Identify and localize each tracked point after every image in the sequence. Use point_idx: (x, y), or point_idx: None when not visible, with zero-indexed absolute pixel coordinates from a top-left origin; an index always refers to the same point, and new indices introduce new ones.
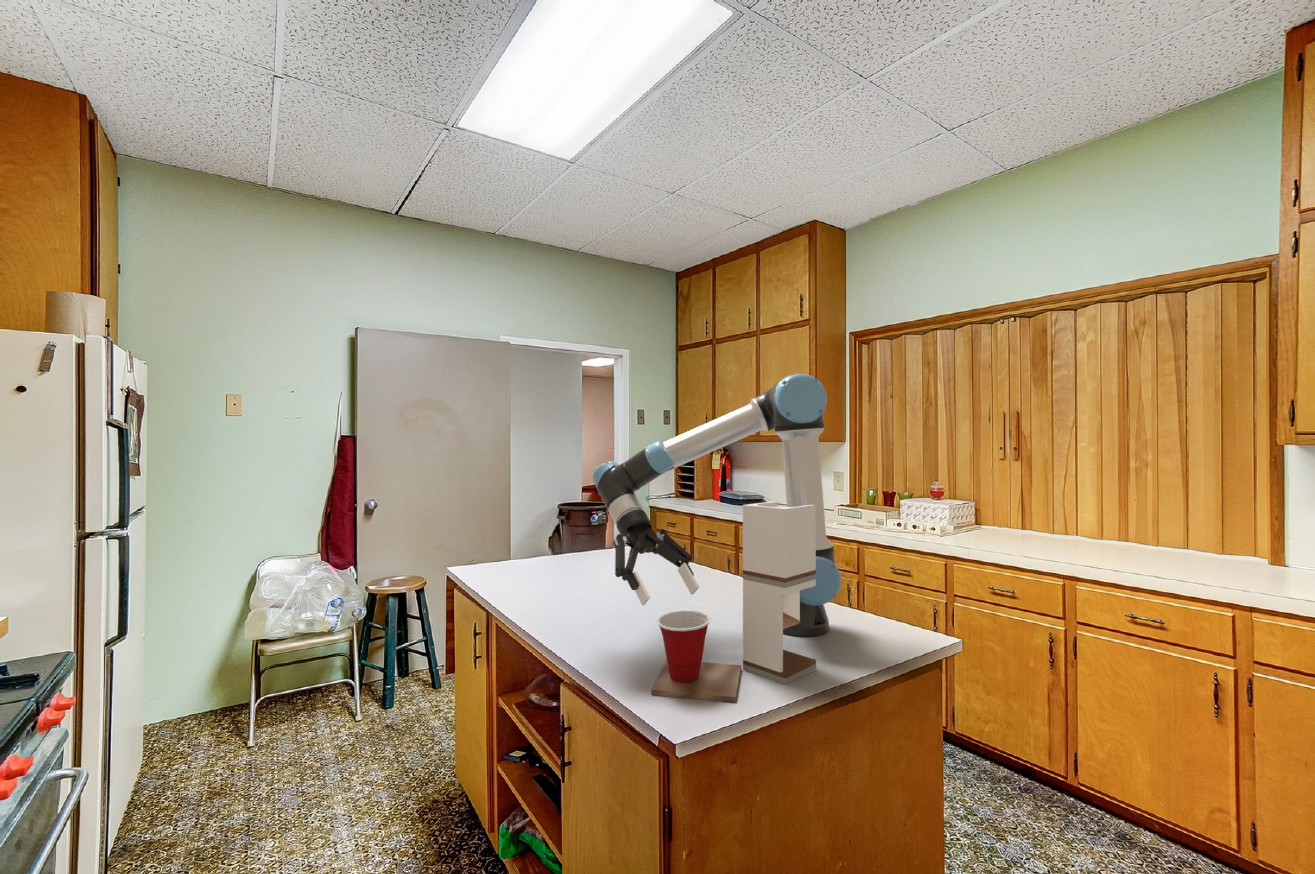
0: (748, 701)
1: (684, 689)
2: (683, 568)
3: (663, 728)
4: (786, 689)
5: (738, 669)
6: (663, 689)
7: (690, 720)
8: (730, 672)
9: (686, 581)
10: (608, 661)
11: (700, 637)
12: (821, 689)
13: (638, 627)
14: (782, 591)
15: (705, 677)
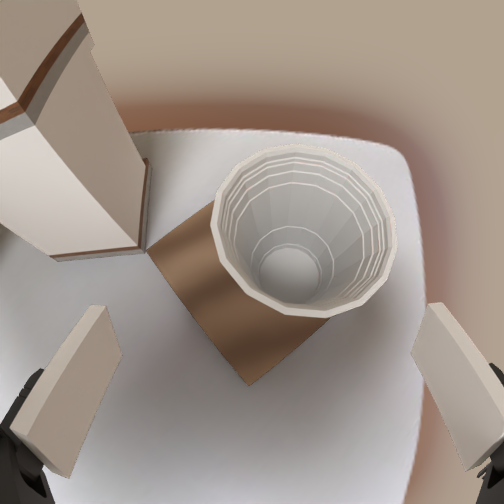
0: None
1: None
2: (50, 426)
3: (407, 179)
4: (167, 156)
5: (168, 237)
6: None
7: (366, 170)
8: (192, 236)
9: (93, 391)
10: (348, 471)
11: (292, 177)
12: (134, 135)
13: None
14: (89, 42)
15: None
